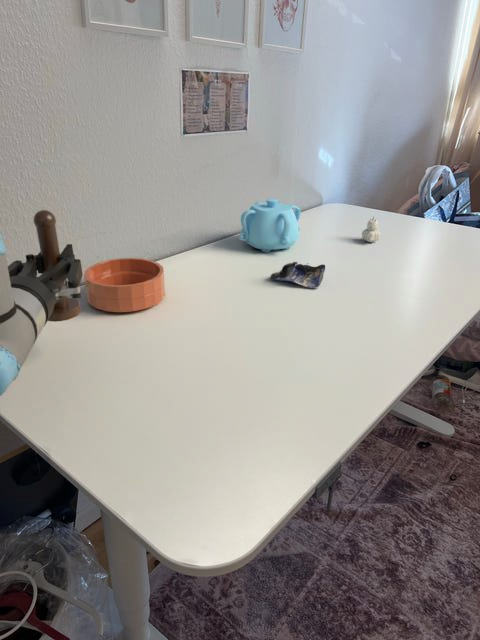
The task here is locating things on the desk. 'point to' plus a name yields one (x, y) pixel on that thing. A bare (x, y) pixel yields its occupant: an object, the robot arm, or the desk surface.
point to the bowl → (124, 284)
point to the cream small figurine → (371, 231)
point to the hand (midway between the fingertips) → (60, 251)
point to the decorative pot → (270, 225)
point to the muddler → (53, 263)
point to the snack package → (301, 274)
